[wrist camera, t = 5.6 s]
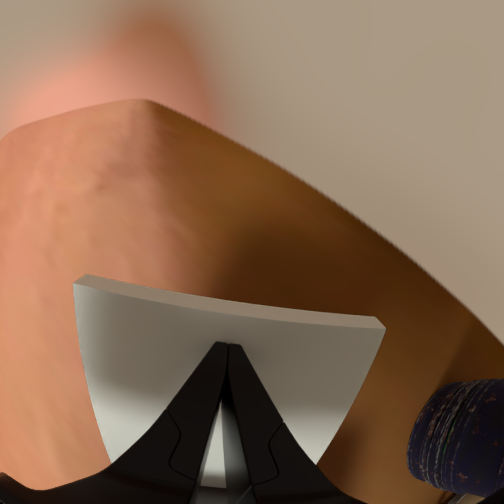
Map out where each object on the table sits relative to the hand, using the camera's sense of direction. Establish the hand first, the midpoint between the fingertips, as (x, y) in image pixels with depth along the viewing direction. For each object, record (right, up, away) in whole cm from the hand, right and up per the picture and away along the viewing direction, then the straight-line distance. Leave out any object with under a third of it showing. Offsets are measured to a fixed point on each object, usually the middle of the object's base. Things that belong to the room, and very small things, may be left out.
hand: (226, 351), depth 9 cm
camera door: (-2, -10, +3) cm, 10 cm away
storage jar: (+18, -13, +7) cm, 23 cm away
